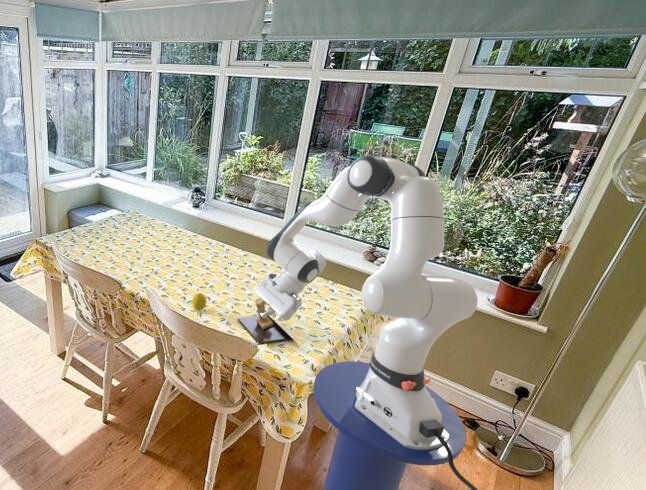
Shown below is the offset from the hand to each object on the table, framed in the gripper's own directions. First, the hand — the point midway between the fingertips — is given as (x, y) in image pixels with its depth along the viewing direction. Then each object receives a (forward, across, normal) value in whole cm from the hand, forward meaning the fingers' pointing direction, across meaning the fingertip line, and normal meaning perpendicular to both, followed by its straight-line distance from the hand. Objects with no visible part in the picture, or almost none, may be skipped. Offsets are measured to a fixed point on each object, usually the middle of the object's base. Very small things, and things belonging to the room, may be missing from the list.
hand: (258, 313), depth 149 cm
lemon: (+16, +18, +6) cm, 25 cm away
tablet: (+1, 0, -10) cm, 10 cm away
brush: (+1, 0, -6) cm, 6 cm away
